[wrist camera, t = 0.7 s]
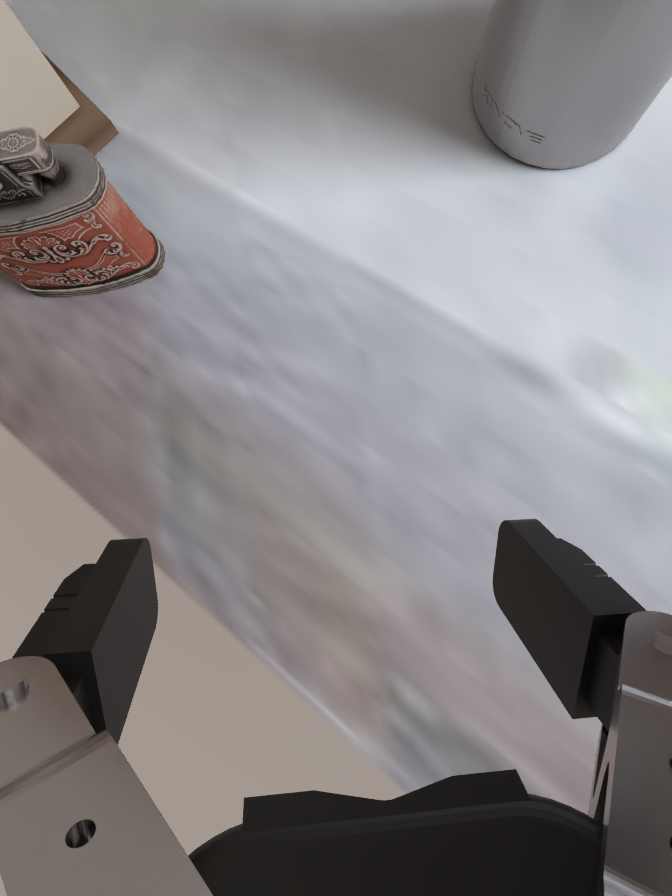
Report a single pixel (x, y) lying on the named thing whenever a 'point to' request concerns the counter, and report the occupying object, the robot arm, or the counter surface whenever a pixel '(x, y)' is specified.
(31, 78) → the gauge plate
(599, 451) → the counter surface
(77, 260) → the lighter
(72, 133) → the gauge base
